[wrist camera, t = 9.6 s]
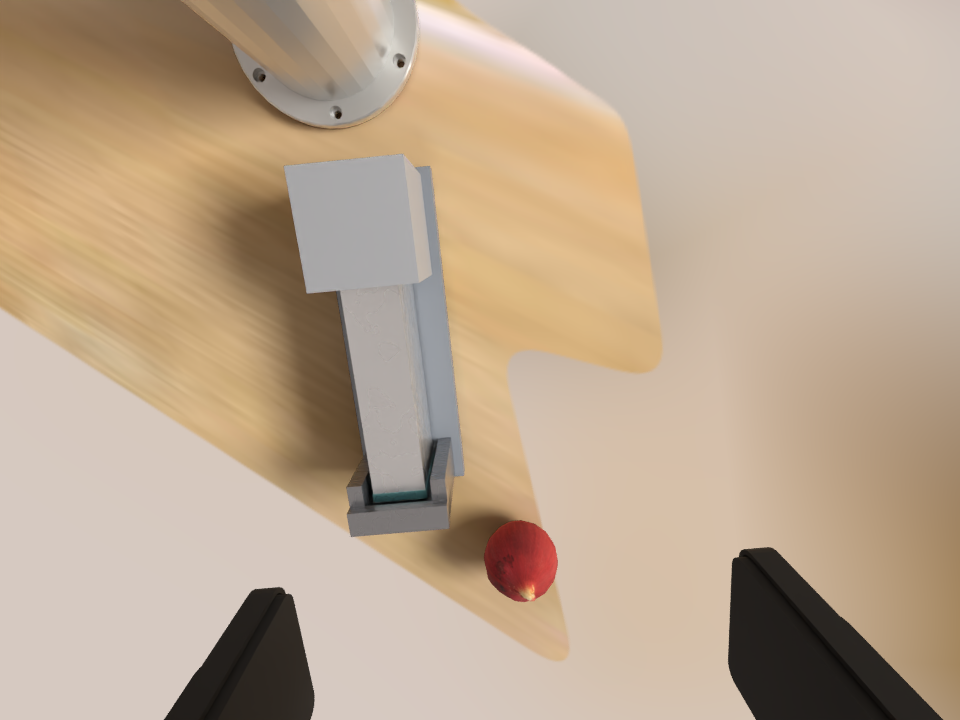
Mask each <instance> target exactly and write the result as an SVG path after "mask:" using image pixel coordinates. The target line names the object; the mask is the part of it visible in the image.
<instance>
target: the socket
mask: <svg viewBox="0 0 960 720" xmlns="http://www.w3.org/2000/svg"><path fill="white" fill-rule="evenodd" d="M454 475H455V467H454V458H453V449H452V441H451V437H446V438H439V439H438V444H437V449H436V454H435V458H434V463H433V468H432V473H431V478H430V487H429V492H428V497H427V498H426V499H414V500H402V501H390V502H379V503H374V501H373V489H372V483H371V477H370V471H369V465H368V459H367V452H366V453H365V454H364V456H363V458H362V460H361V462H360V464H359V465H358V467H357V469H356V471H355V473H354V475H353V476H352V478H351V480H350V482H349V484H348V486H347V487H346V488H347V493H348V499H349V505H350V509H349V511H348V513H347V518H348V524H349V529H350V535H351V537H355V536H367V535H379V534H391V533H403V532H415V531H427V530H439V529H449V527H450V512H451V503H452V494H453V485H454Z"/></svg>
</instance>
